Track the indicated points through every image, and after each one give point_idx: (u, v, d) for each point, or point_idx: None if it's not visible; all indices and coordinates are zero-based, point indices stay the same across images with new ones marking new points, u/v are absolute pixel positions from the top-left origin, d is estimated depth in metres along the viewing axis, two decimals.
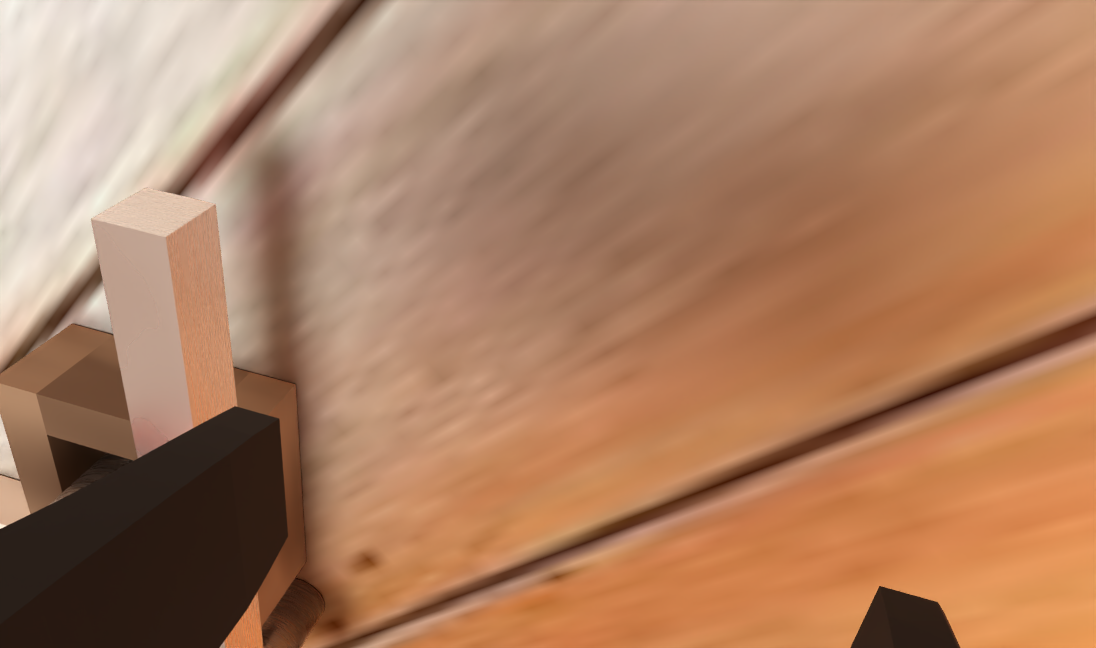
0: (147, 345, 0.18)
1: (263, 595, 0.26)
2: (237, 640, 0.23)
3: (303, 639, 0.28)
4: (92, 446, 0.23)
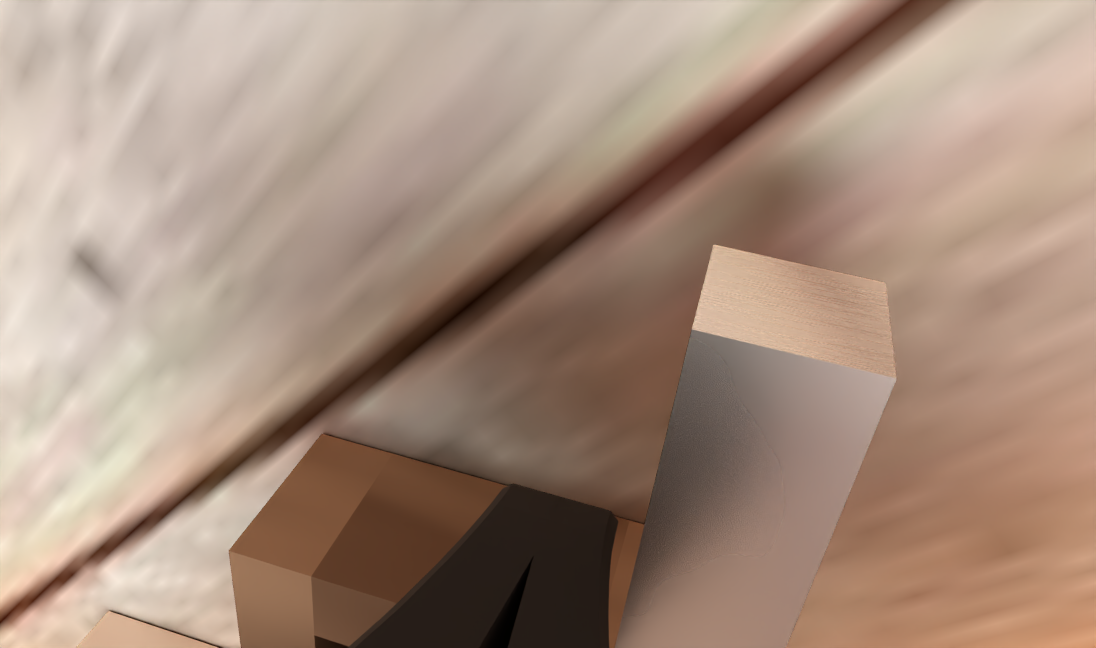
0: (716, 583, 0.08)
1: None
2: None
3: None
4: None
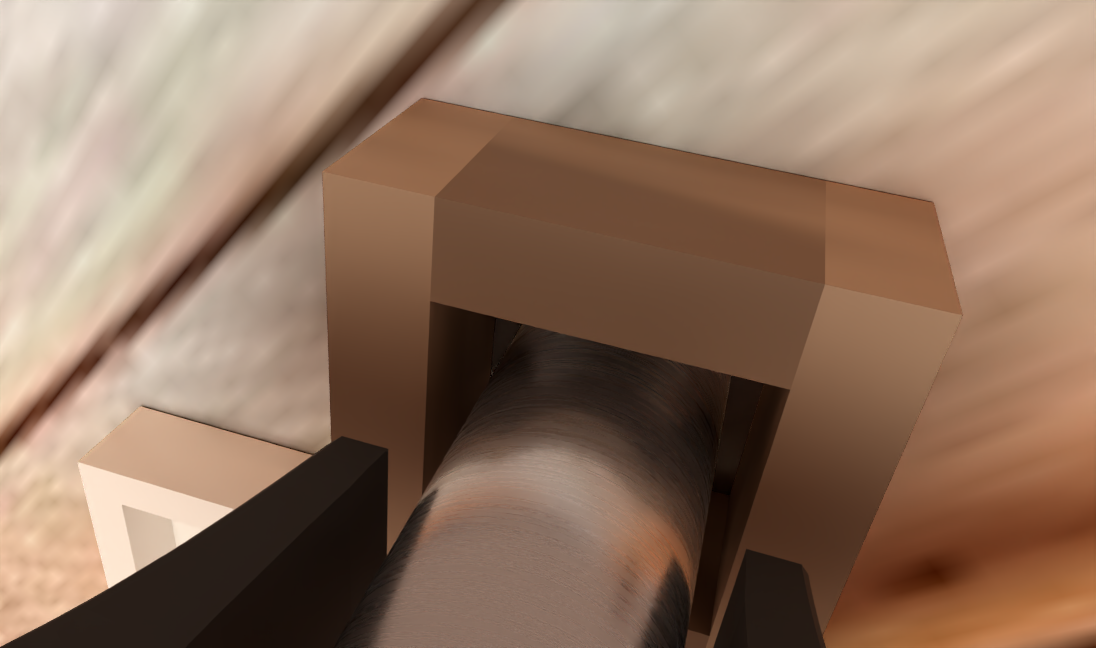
0: None
1: None
2: None
3: None
4: (542, 323, 0.10)
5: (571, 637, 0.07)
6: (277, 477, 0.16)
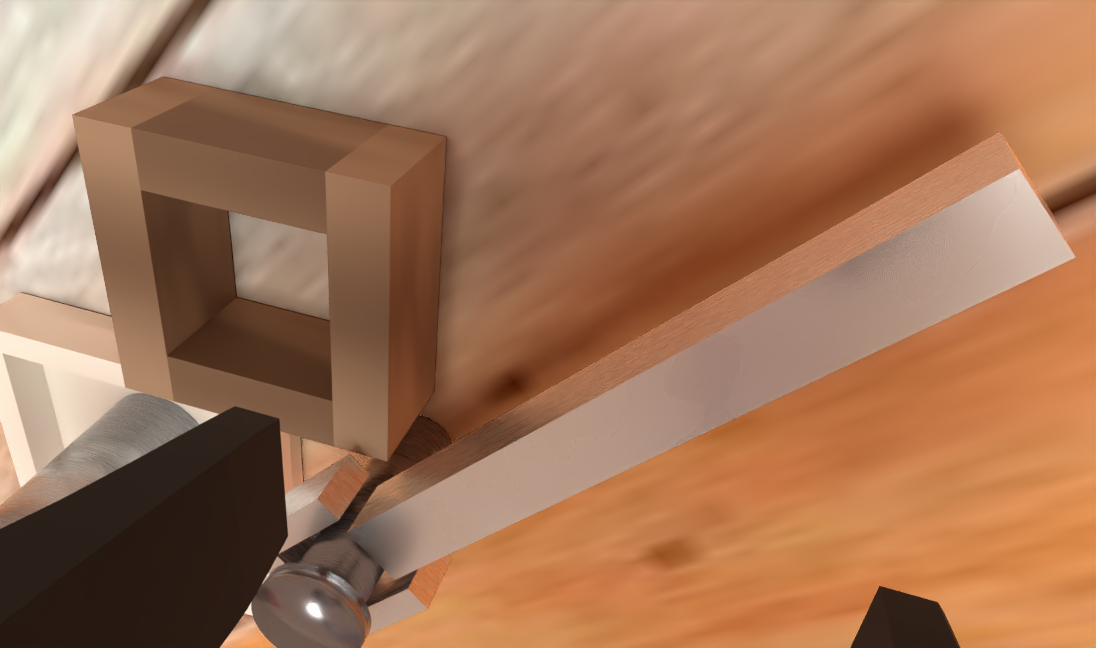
0: (869, 303, 0.13)
1: (397, 411, 0.21)
2: None
3: None
4: (199, 201, 0.18)
5: None
6: (106, 334, 0.25)
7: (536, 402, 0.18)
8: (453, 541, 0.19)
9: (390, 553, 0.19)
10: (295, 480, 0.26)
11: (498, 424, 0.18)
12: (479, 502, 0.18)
